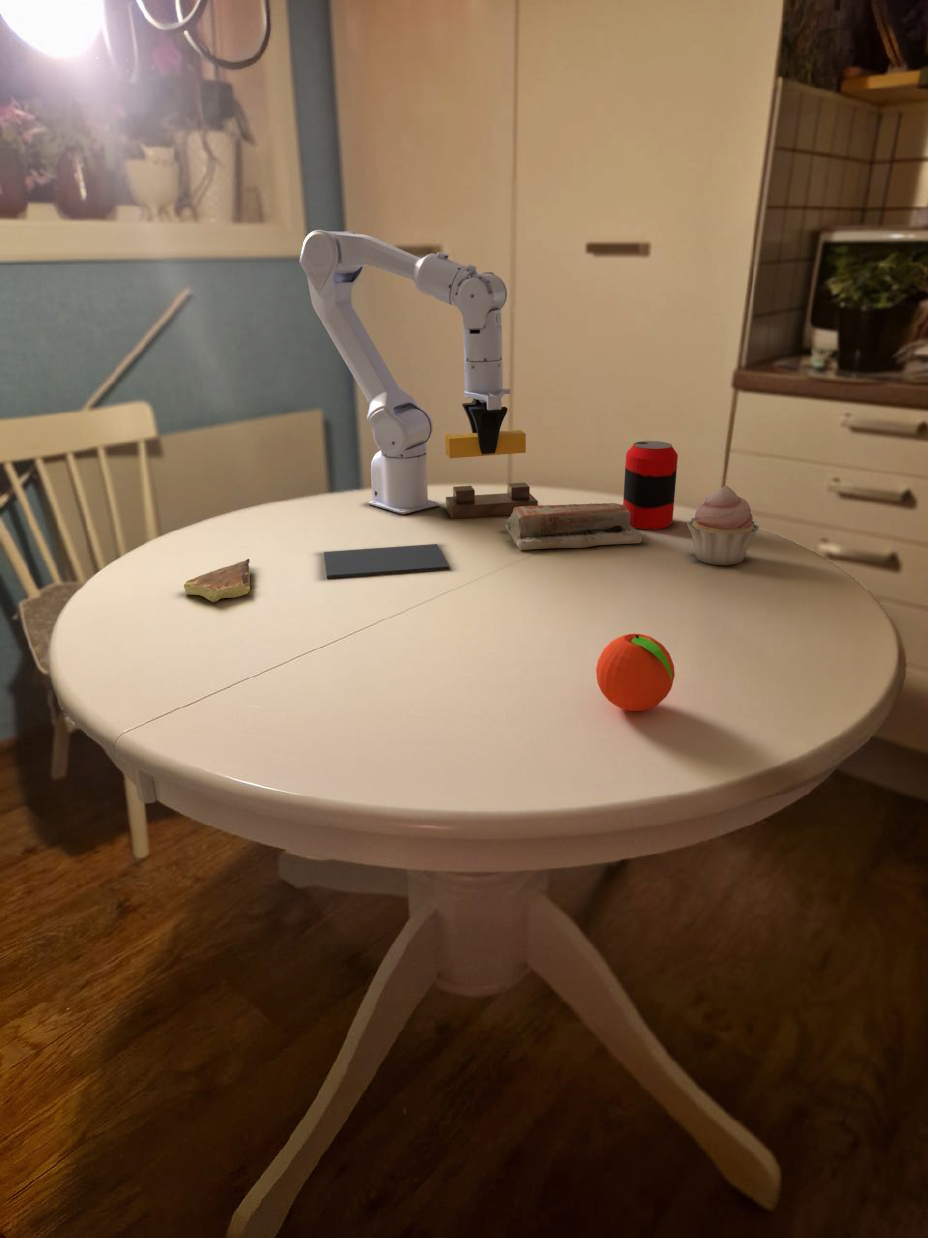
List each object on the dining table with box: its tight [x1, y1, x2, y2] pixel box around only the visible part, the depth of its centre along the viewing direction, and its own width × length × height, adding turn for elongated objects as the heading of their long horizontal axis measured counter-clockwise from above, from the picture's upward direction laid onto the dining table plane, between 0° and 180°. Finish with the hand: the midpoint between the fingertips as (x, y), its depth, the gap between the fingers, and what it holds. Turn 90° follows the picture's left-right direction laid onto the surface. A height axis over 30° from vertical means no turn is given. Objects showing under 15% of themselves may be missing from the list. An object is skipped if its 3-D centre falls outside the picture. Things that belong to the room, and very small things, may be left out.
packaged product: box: [505, 502, 643, 551], centre depth 125 cm, size 18×5×10 cm
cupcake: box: [686, 485, 760, 566], centre depth 115 cm, size 9×9×10 cm
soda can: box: [622, 440, 679, 530], centre depth 130 cm, size 8×8×12 cm
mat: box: [323, 543, 450, 579], centre depth 117 cm, size 16×10×1 cm, turn 101°
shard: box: [183, 558, 251, 603], centre depth 109 cm, size 11×8×2 cm
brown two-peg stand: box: [445, 482, 539, 519], centre depth 140 cm, size 14×6×4 cm, turn 101°
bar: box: [444, 429, 527, 459], centre depth 134 cm, size 12×3×3 cm, turn 101°
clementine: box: [595, 633, 676, 712], centre depth 77 cm, size 8×7×7 cm
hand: (485, 450), depth 134 cm, fingers closed on bar, 3 cm apart
